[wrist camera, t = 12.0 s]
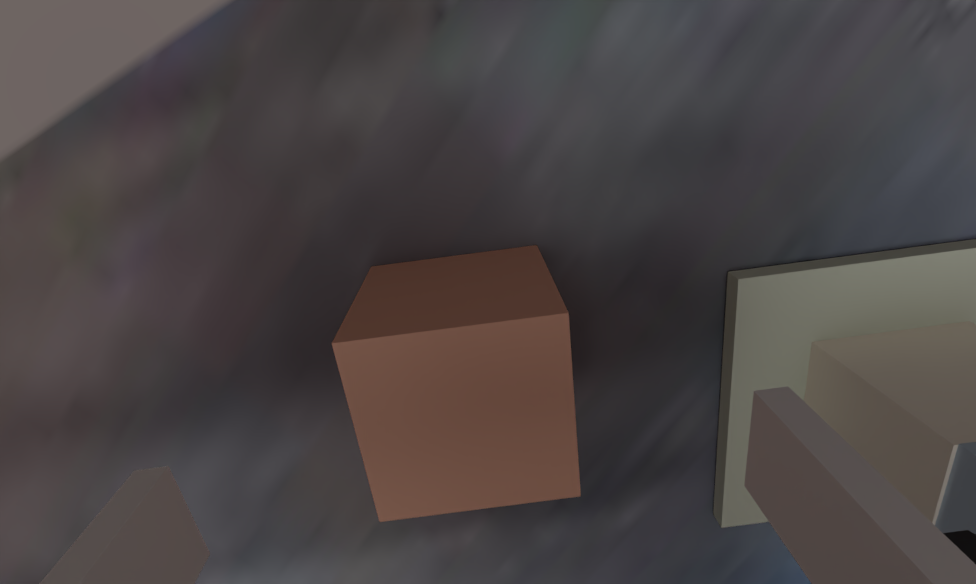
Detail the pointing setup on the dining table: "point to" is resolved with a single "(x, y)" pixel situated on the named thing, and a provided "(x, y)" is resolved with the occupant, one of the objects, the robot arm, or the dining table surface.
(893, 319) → the plate
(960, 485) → the block
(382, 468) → the block
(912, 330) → the block
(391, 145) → the dining table surface
